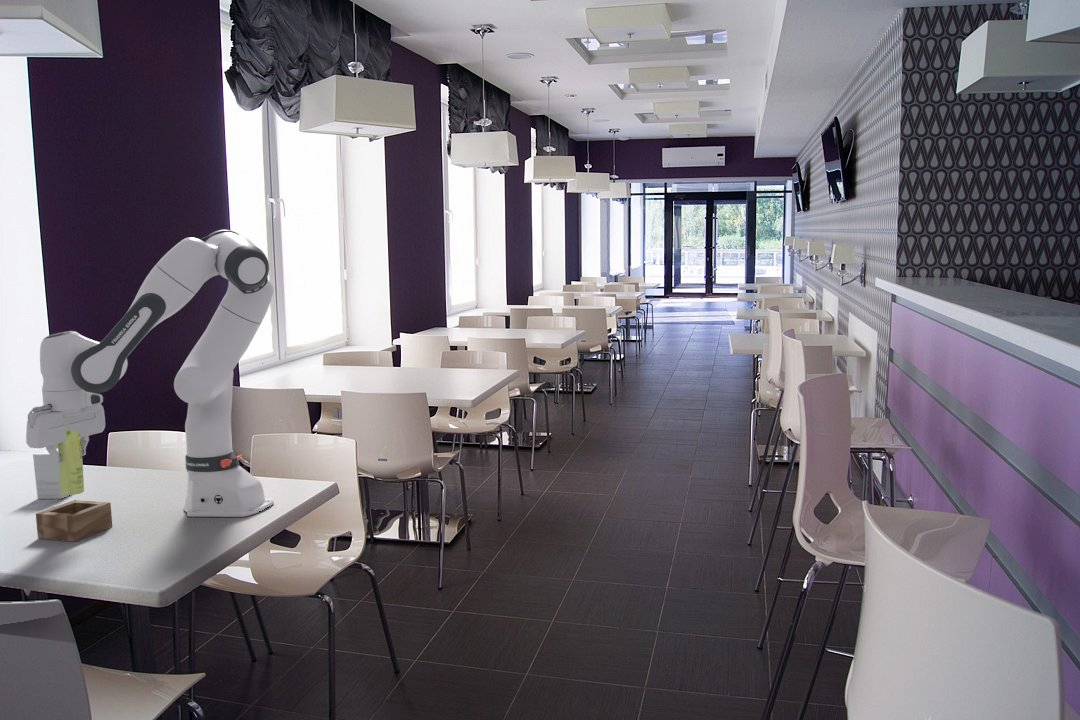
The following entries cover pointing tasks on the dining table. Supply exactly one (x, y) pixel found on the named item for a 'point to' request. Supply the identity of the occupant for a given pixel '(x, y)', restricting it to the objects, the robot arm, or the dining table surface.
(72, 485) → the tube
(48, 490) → the supplement box
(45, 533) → the wooden box
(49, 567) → the dining table surface
